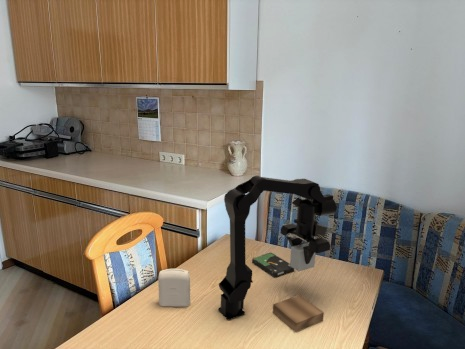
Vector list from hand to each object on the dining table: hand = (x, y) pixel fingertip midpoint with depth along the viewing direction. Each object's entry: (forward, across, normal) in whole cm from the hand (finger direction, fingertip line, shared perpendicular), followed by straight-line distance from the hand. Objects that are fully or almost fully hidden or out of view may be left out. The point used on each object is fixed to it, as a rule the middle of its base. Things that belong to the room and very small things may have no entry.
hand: (302, 260), depth 121 cm
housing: (+2, 0, 0) cm, 2 cm away
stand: (+13, -9, +9) cm, 18 cm away
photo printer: (+13, +16, +40) cm, 45 cm away
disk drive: (+14, +21, -4) cm, 25 cm away
